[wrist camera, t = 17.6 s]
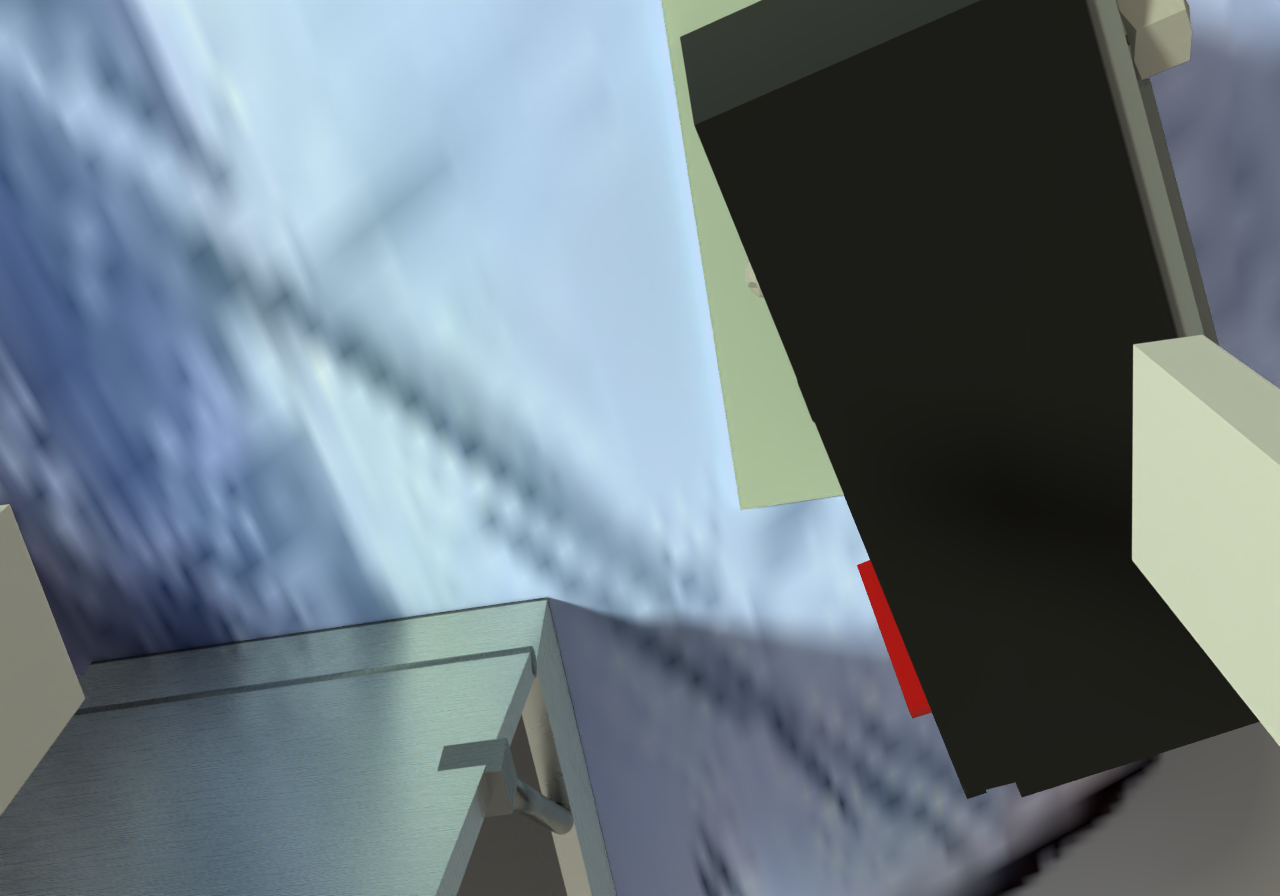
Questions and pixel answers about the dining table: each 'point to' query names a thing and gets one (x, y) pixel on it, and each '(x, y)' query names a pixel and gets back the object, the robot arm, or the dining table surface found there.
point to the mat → (745, 322)
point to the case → (320, 769)
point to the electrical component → (979, 343)
